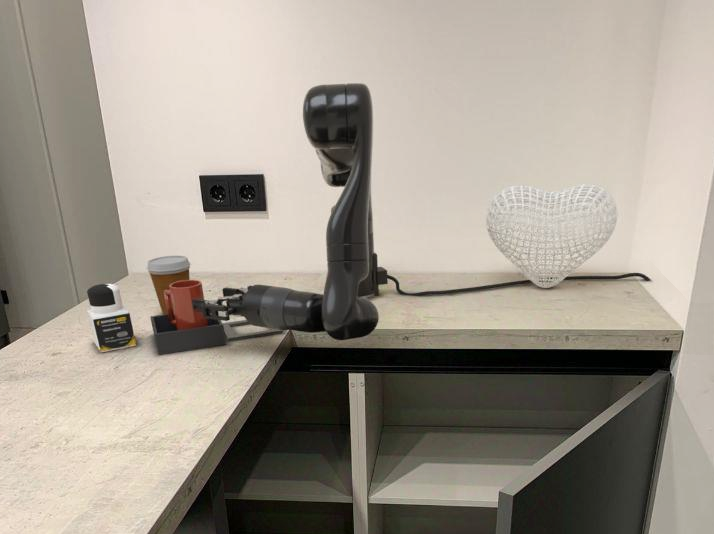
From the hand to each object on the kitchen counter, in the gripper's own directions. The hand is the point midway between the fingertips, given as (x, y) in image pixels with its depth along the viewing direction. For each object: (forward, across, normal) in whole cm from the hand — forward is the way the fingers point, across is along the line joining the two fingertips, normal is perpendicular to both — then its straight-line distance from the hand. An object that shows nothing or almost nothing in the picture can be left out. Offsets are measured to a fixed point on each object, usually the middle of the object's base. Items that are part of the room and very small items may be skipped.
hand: (209, 298), depth 141 cm
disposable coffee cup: (+24, -13, +9) cm, 29 cm away
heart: (-45, -63, +9) cm, 78 cm away
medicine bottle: (+20, +9, +9) cm, 23 cm away
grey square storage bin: (+7, 0, +9) cm, 12 cm away
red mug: (+7, 0, +9) cm, 11 cm away
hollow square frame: (0, -11, +9) cm, 14 cm away
